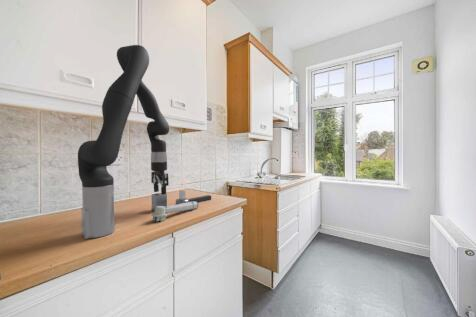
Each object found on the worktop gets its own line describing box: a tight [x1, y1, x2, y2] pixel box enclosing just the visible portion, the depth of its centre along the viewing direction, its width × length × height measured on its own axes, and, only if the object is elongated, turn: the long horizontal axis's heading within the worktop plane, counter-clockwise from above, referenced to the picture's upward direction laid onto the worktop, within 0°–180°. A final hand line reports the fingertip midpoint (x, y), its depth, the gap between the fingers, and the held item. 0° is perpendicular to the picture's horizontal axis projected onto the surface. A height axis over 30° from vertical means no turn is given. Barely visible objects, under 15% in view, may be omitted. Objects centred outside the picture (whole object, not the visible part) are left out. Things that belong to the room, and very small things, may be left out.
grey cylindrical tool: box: [151, 201, 199, 222], centre depth 93 cm, size 5×7×25 cm
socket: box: [151, 192, 168, 212], centre depth 101 cm, size 5×5×8 cm
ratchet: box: [175, 189, 212, 205], centre depth 116 cm, size 22×7×8 cm, turn 136°
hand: (159, 193), depth 101 cm, fingers open, 8 cm apart
